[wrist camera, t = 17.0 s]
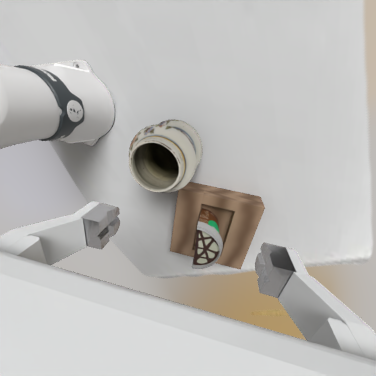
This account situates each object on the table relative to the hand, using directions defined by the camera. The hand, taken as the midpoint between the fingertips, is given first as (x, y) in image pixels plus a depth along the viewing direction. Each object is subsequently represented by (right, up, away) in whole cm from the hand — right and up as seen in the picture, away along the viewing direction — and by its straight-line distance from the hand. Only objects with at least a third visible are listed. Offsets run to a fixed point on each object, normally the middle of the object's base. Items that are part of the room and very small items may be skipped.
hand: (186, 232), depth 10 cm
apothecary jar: (-2, +13, +33) cm, 35 cm away
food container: (+6, -7, +37) cm, 38 cm away
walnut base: (+7, -6, +40) cm, 41 cm away
